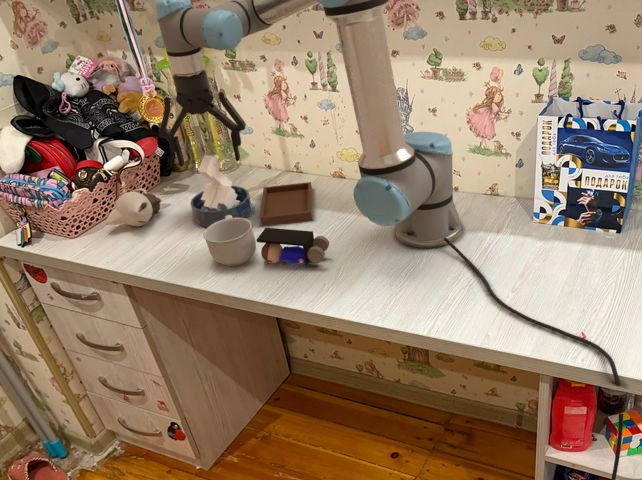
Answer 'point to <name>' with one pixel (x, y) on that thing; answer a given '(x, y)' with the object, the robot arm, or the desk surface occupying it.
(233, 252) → the teacup
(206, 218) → the bowl
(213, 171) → the beige irregular angular piece
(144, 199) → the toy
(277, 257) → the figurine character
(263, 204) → the tray
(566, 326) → the desk surface
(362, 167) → the robot arm
